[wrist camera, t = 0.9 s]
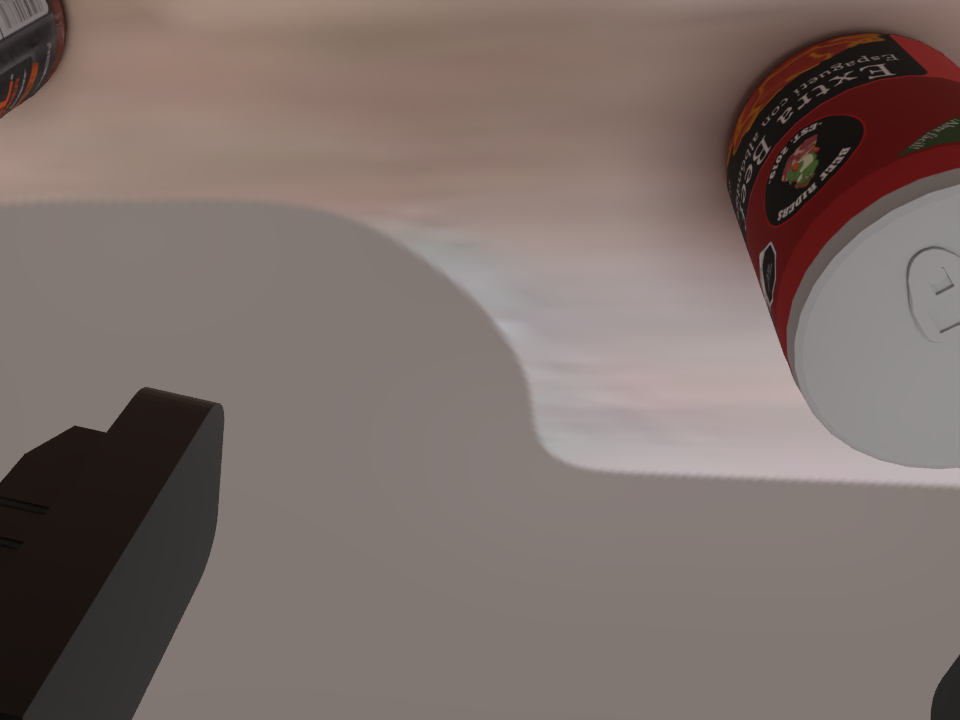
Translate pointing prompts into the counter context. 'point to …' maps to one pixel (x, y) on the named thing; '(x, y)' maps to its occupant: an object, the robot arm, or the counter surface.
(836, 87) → the canned food
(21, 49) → the supplement bottle
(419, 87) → the counter surface
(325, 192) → the counter surface
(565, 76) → the counter surface
